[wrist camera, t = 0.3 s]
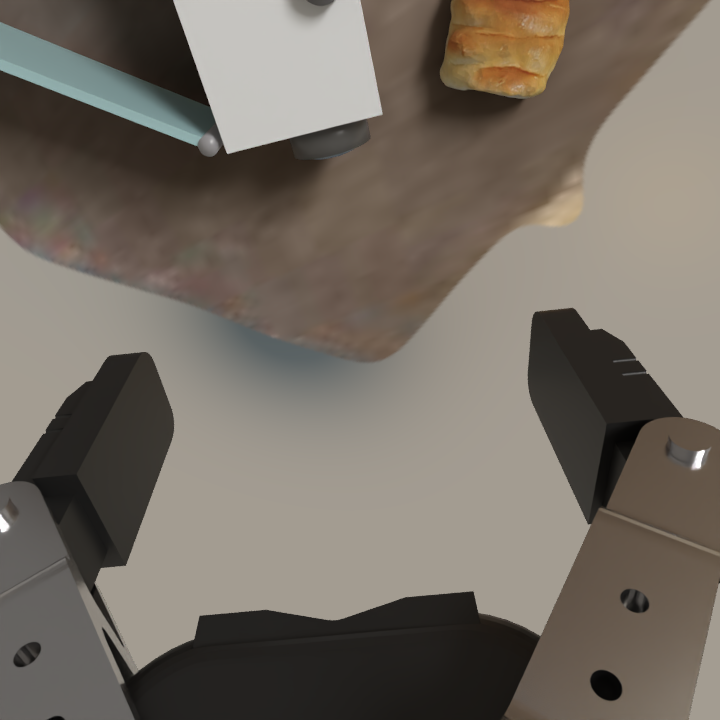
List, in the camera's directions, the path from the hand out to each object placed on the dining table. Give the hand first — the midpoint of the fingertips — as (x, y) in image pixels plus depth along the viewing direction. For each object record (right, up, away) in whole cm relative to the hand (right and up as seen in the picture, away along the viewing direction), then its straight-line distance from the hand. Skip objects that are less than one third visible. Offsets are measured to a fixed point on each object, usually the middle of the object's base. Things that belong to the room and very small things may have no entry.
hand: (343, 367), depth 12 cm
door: (-14, +17, +21) cm, 30 cm away
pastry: (+8, +20, +21) cm, 30 cm away
